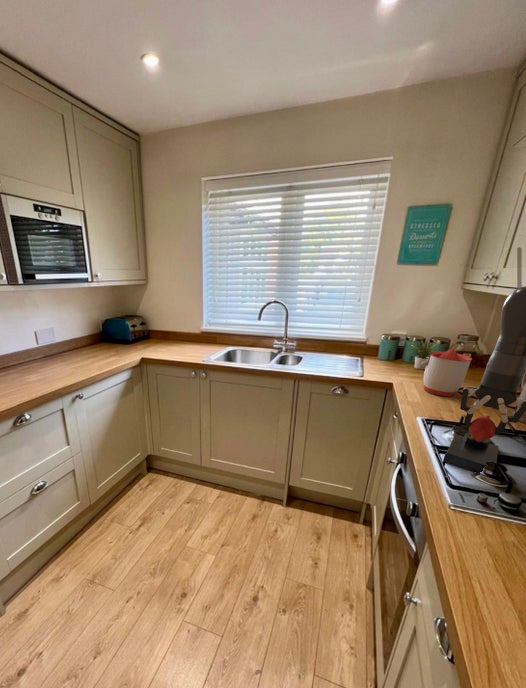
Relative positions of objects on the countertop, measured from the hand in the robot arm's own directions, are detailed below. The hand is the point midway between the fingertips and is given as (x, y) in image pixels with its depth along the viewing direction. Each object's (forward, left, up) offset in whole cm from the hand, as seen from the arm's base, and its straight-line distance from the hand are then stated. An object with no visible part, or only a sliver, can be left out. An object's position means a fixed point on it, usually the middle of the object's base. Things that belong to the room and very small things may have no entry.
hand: (481, 429), depth 89 cm
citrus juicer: (-29, -60, -12) cm, 68 cm away
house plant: (-43, -98, -5) cm, 107 cm away
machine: (-3, -3, -12) cm, 12 cm away
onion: (0, 0, -4) cm, 4 cm away
